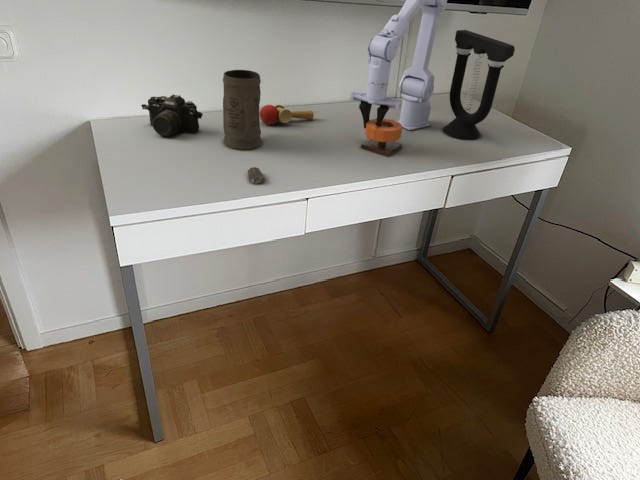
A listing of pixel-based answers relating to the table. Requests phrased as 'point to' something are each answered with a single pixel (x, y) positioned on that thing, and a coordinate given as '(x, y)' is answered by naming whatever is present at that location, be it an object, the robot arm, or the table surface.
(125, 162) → the table surface
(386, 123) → the ring
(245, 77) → the beer stein
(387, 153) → the stand
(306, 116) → the kendama
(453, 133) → the spring support
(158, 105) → the film camera
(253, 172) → the block
